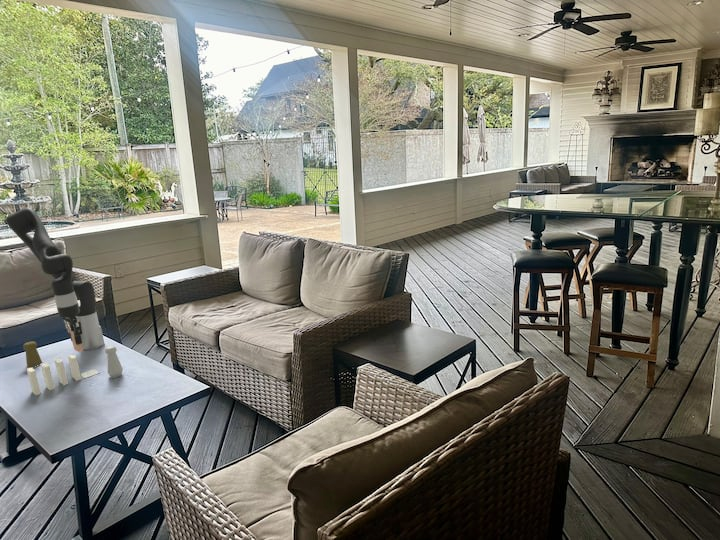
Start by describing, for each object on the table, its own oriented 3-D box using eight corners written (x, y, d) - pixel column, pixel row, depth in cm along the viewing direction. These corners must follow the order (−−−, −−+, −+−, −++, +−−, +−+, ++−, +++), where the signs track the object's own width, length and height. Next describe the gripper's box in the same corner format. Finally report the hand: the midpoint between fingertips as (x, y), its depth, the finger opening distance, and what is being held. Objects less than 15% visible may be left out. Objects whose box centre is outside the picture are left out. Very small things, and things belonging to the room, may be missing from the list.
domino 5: (77, 376, 211) (72, 354, 209) (81, 379, 208) (76, 357, 205) (72, 377, 210) (67, 355, 207) (76, 380, 207) (71, 358, 204)
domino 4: (78, 347, 207) (73, 325, 204) (83, 350, 204) (77, 328, 201) (74, 349, 206) (68, 326, 203) (78, 352, 202) (72, 329, 200)
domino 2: (51, 385, 204) (45, 362, 202) (54, 388, 201) (49, 365, 198) (46, 386, 203) (40, 364, 201) (49, 390, 200) (44, 367, 197)
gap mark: (94, 369, 216) (94, 369, 216) (99, 373, 212) (99, 372, 212) (79, 374, 212) (79, 374, 212) (84, 378, 208) (84, 378, 208)
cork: (28, 364, 228) (22, 341, 225) (43, 360, 230) (37, 338, 227) (25, 369, 222) (20, 346, 219) (41, 365, 225) (35, 343, 222)
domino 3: (64, 380, 208) (59, 358, 205) (68, 383, 204) (63, 361, 202) (59, 382, 206) (54, 360, 204) (63, 385, 203) (58, 363, 201)
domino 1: (37, 389, 201) (31, 367, 198) (40, 393, 197) (35, 370, 195) (32, 391, 200) (26, 368, 197) (35, 395, 196) (29, 372, 194)
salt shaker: (126, 372, 211) (120, 344, 208) (118, 378, 206) (112, 349, 202) (113, 372, 212) (107, 344, 209) (105, 379, 206) (99, 350, 203)
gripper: (83, 304, 197) (93, 343, 202) (71, 297, 207) (80, 335, 211) (62, 309, 192) (73, 350, 197) (51, 303, 201) (61, 341, 206)
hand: (76, 342), depth 204 cm, fingers closed on domino 4, 5 cm apart
